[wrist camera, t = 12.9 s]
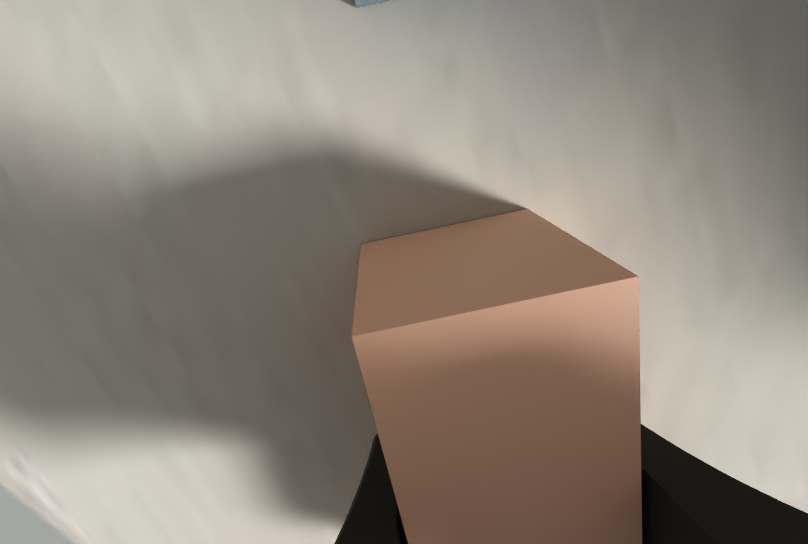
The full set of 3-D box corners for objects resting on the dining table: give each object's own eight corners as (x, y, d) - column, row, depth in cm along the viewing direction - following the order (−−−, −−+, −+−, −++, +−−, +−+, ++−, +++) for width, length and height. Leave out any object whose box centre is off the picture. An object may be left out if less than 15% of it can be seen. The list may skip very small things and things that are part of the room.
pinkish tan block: (527, 208, 10) (638, 276, 6) (559, 517, 14) (644, 703, 9) (360, 244, 10) (351, 336, 6) (434, 543, 14) (462, 740, 9)
